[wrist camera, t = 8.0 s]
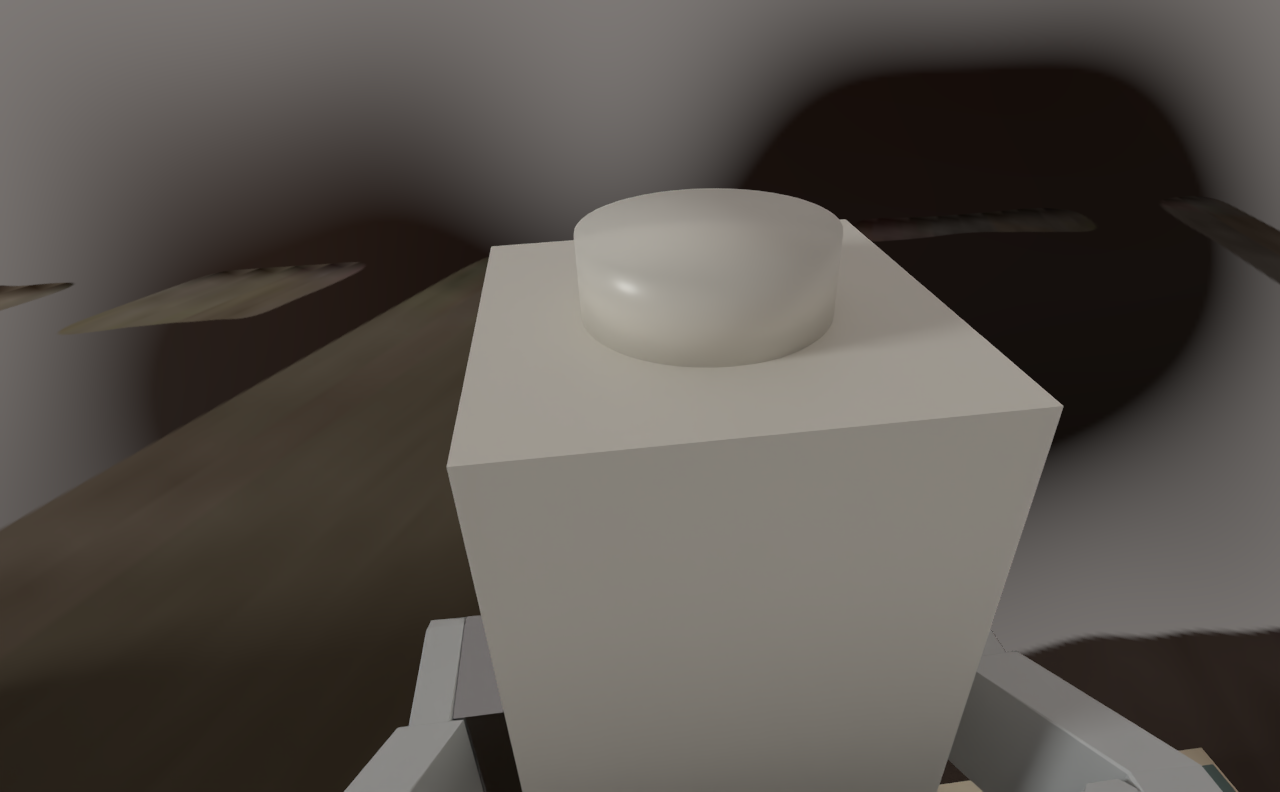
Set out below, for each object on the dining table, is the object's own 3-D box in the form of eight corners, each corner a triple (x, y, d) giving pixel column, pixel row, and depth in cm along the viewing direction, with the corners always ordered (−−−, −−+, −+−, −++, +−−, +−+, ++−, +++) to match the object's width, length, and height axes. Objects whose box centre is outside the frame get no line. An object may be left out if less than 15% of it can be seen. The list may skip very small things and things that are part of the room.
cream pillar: (592, 1094, 12) (422, 363, 4) (582, 819, 15) (480, 179, 8) (851, 1052, 12) (1096, 304, 5) (779, 792, 16) (853, 153, 8)
